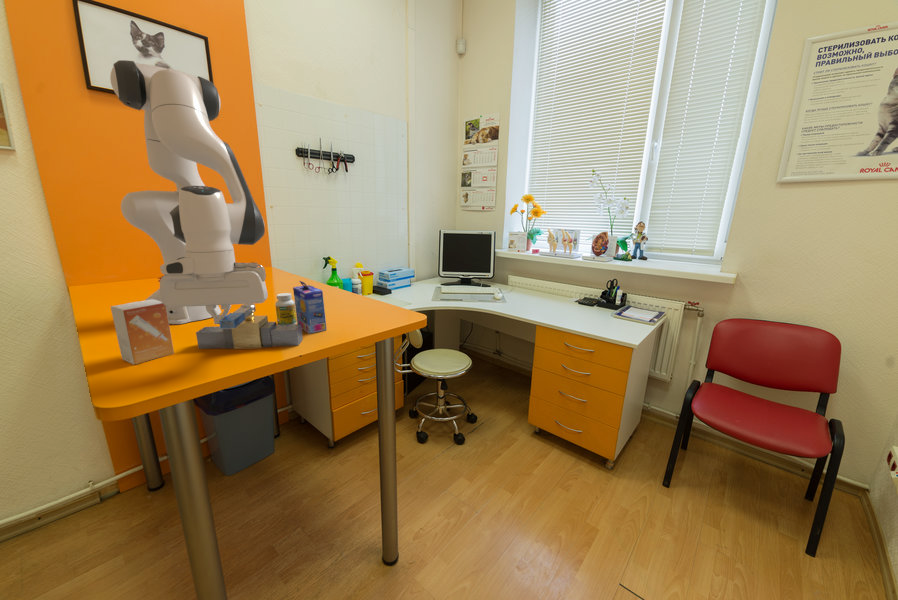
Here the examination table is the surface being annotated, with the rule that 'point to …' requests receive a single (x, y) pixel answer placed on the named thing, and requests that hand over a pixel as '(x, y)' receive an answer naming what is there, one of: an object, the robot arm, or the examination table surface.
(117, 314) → the small box
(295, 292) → the ink cartridge box
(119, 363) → the examination table surface
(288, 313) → the supplement bottle
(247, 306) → the lever
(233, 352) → the examination table surface
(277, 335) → the valve pipe
